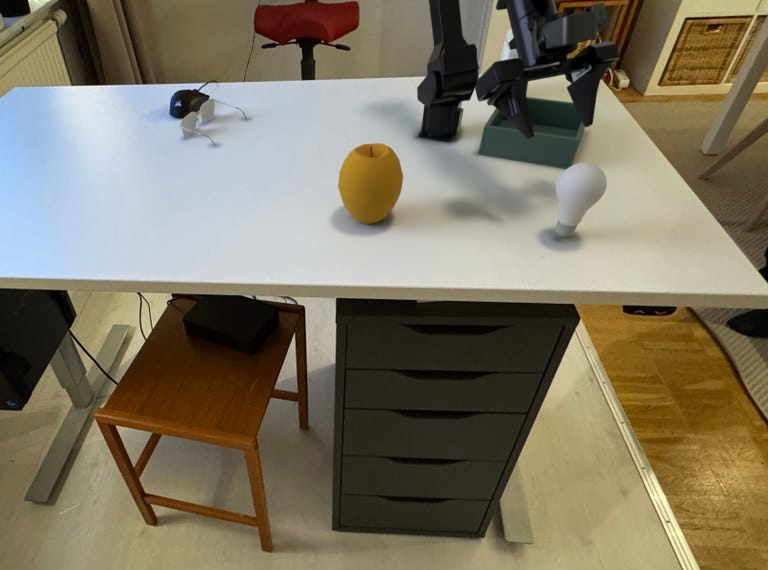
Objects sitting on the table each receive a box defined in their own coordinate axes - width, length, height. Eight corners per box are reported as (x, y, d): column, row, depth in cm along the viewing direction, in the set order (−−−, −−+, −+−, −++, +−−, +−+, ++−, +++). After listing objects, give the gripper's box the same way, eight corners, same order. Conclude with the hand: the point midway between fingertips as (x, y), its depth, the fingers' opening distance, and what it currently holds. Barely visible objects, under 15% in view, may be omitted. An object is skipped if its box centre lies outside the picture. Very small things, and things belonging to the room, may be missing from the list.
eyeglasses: (215, 114, 118) (214, 95, 115) (248, 121, 116) (247, 102, 113) (180, 141, 110) (178, 121, 107) (215, 149, 107) (213, 129, 104)
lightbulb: (587, 229, 80) (614, 158, 72) (583, 251, 76) (612, 179, 69) (543, 221, 82) (565, 151, 74) (537, 243, 78) (561, 172, 71)
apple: (373, 194, 91) (377, 124, 82) (413, 219, 85) (422, 146, 76) (326, 214, 87) (325, 143, 79) (364, 241, 81) (368, 167, 73)
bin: (478, 154, 98) (484, 126, 95) (499, 120, 108) (504, 94, 104) (570, 169, 93) (579, 140, 89) (583, 132, 102) (592, 104, 98)
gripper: (506, -10, 65) (536, 117, 65) (638, -31, 68) (666, 91, 68) (461, 44, 76) (488, 153, 76) (577, 24, 79) (602, 129, 79)
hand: (560, 132), depth 75 cm, fingers open, 9 cm apart
